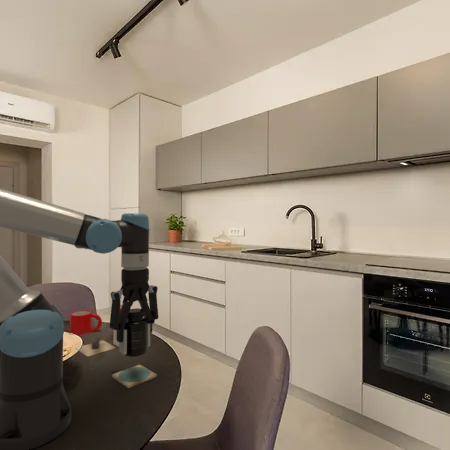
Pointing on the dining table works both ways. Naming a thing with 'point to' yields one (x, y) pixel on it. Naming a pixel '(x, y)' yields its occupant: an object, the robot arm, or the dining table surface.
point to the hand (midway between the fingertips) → (135, 348)
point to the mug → (83, 322)
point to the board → (95, 351)
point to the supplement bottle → (136, 333)
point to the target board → (134, 376)
